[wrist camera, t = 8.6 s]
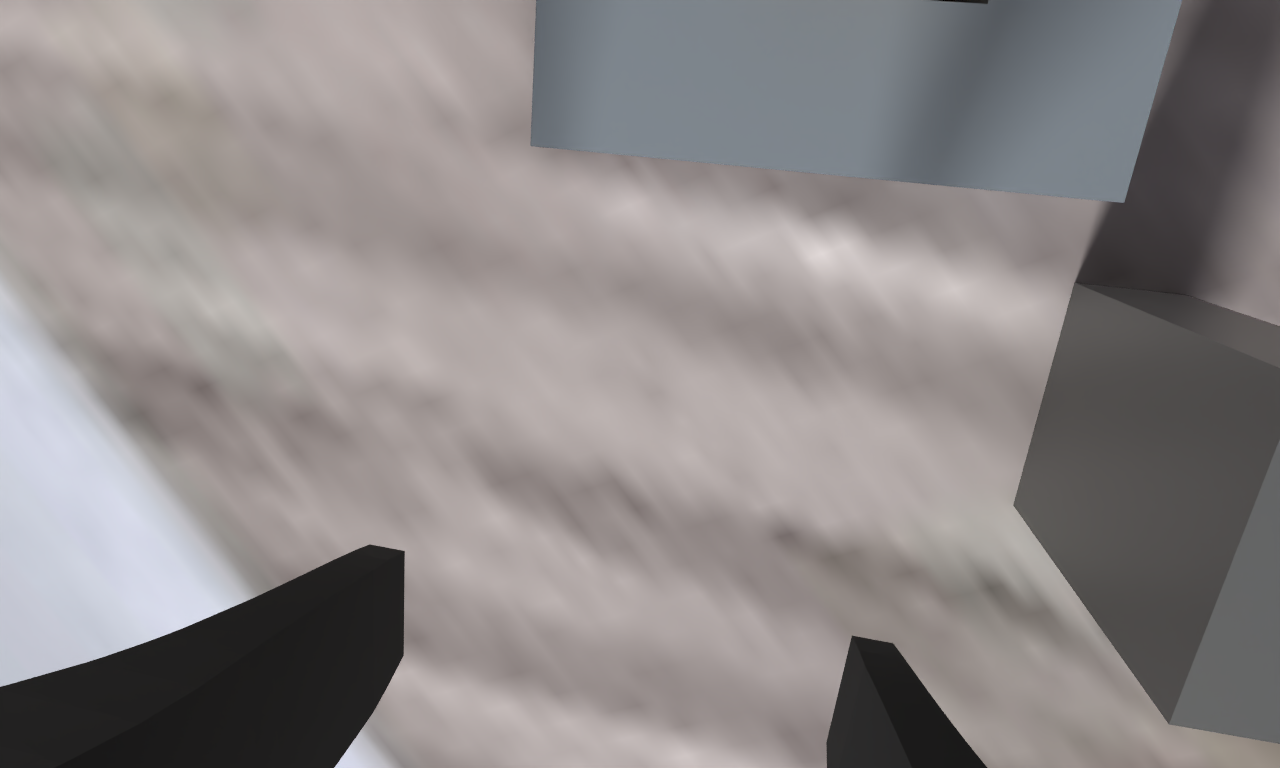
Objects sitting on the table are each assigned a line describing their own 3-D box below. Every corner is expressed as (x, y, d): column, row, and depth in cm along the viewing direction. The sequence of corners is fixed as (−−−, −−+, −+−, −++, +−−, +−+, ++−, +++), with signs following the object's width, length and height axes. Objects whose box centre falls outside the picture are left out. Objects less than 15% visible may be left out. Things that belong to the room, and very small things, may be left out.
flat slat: (1186, 294, 17) (1506, 402, 10) (1113, 519, 19) (1336, 754, 12) (1074, 282, 18) (1303, 378, 10) (1013, 505, 20) (1169, 724, 12)
